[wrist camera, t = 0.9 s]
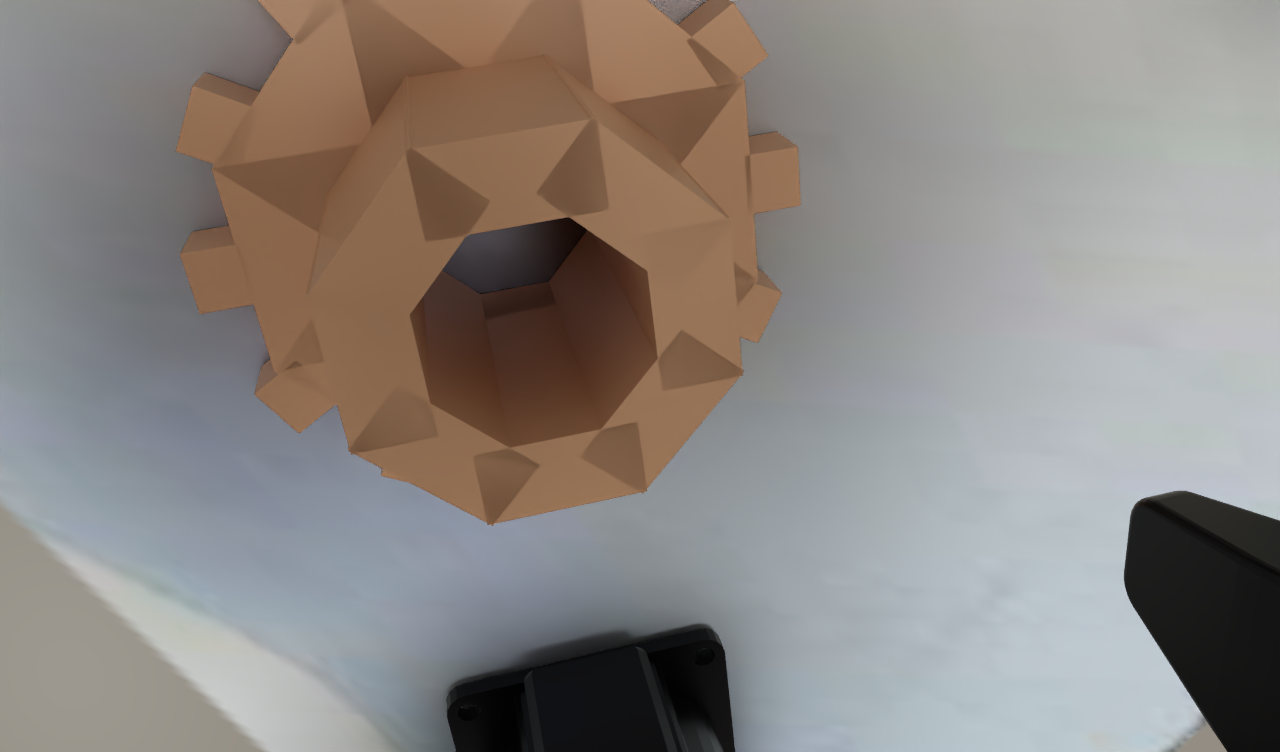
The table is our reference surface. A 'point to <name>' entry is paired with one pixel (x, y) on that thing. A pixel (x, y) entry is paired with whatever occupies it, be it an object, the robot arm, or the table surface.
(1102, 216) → the table surface
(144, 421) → the table surface
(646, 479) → the planet gear
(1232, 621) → the robot arm
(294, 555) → the table surface
